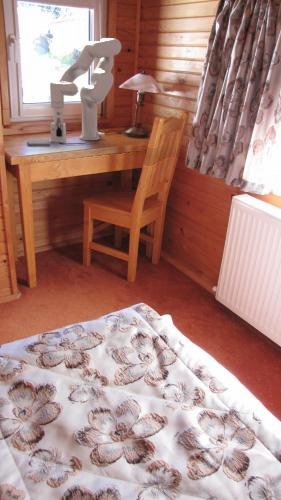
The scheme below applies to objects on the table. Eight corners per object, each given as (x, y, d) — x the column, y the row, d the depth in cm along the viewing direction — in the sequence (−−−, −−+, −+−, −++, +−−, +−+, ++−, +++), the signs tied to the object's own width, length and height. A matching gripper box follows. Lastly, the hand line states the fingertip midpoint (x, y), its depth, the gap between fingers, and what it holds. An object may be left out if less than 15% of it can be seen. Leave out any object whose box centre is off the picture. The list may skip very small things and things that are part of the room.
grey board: (48, 141, 238) (48, 139, 238) (50, 146, 228) (50, 143, 227) (28, 141, 235) (27, 139, 235) (28, 146, 225) (28, 143, 224)
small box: (66, 140, 243) (65, 123, 238) (63, 142, 238) (63, 124, 233) (53, 139, 244) (52, 122, 239) (50, 141, 239) (50, 123, 234)
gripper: (65, 107, 225) (66, 137, 233) (62, 103, 240) (63, 132, 247) (51, 107, 223) (53, 137, 231) (49, 102, 238) (51, 132, 245)
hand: (58, 134), depth 239 cm, fingers open, 9 cm apart
